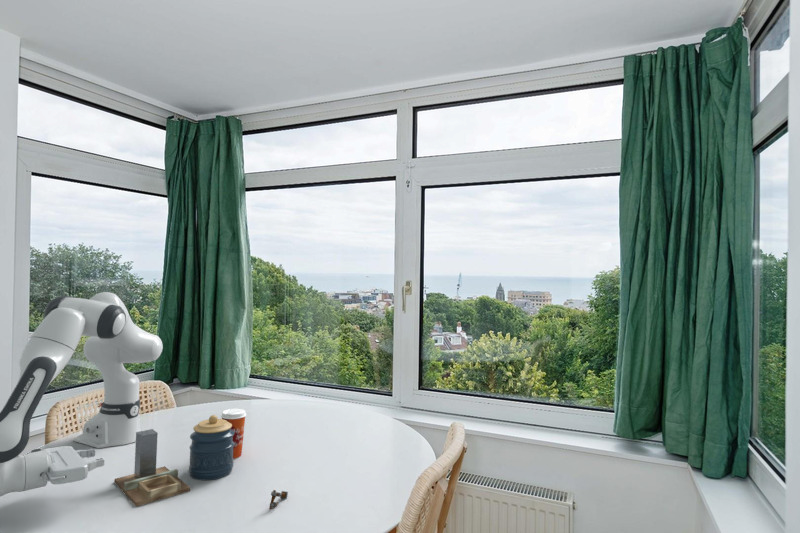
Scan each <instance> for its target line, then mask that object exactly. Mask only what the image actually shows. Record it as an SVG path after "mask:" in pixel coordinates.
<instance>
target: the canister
mask: <svg viewBox="0 0 800 533" xmlns="http://www.w3.org/2000/svg"><path fill="white" fill-rule="evenodd" d="M231 427H232V424H231V423H229V422H227V421H226V420H224V419H222V418H218V416H217V415H216V414H212V415H210V416H209V418H208V419H205V420H201V421H200V422H198V423H197V424H196V425H194V426H193V428H192V430H193V432H192V433H191V434H190V435H189V439H190V440H191V444H190V445H189V465H188V472H189V474H188V475H189V476H190V478H192V479H195V480H200V481H211V480H217V479H221V478H224V477H225V476H229V475H230V473H232V471H233V468H234V459H233V446H234V441H233V435H234V434H235V432H234V430H232V429H231Z"/></svg>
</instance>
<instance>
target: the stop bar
mask: <svg viewBox="0 0 800 533" xmlns="http://www.w3.org/2000/svg"><path fill="white" fill-rule="evenodd" d="M134 454H135V455H134V471H133V472H134V473H133V474H134V476H135V477H136V478H137V479H139V478H143V477H147V476H151V475H155V474H156V468H157V454H158V432H157V431H156V430H154V429H153V428H150V429H146V430H141V431H140V432H136V441H135V453H134Z"/></svg>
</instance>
